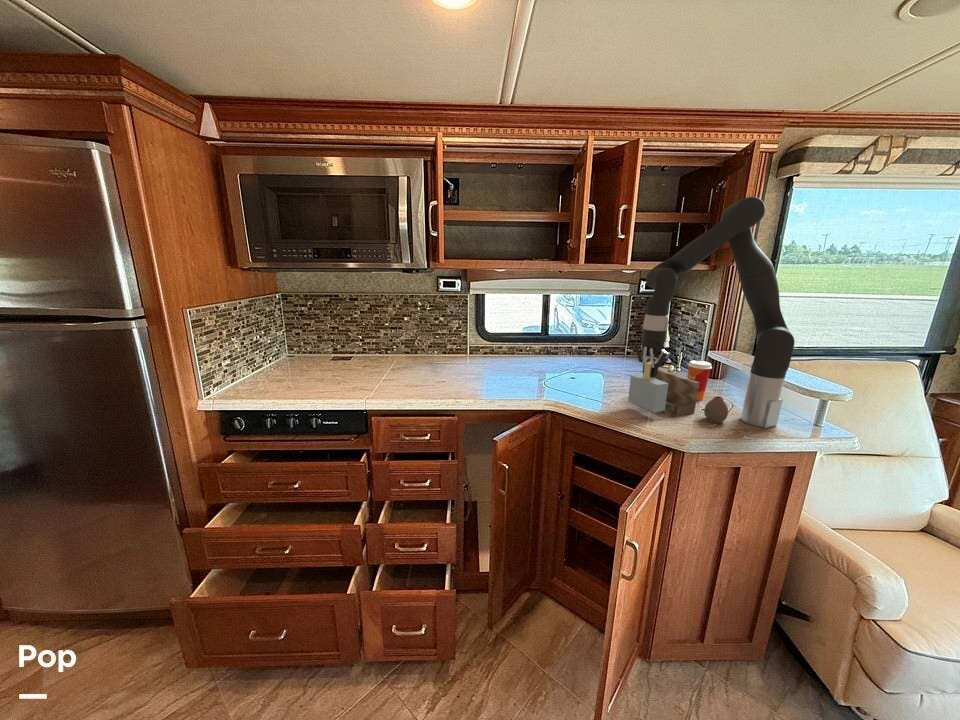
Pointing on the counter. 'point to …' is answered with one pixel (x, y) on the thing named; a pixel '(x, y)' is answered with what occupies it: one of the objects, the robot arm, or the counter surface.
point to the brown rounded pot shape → (716, 410)
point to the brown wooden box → (679, 394)
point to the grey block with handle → (648, 391)
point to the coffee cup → (699, 375)
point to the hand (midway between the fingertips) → (649, 375)
